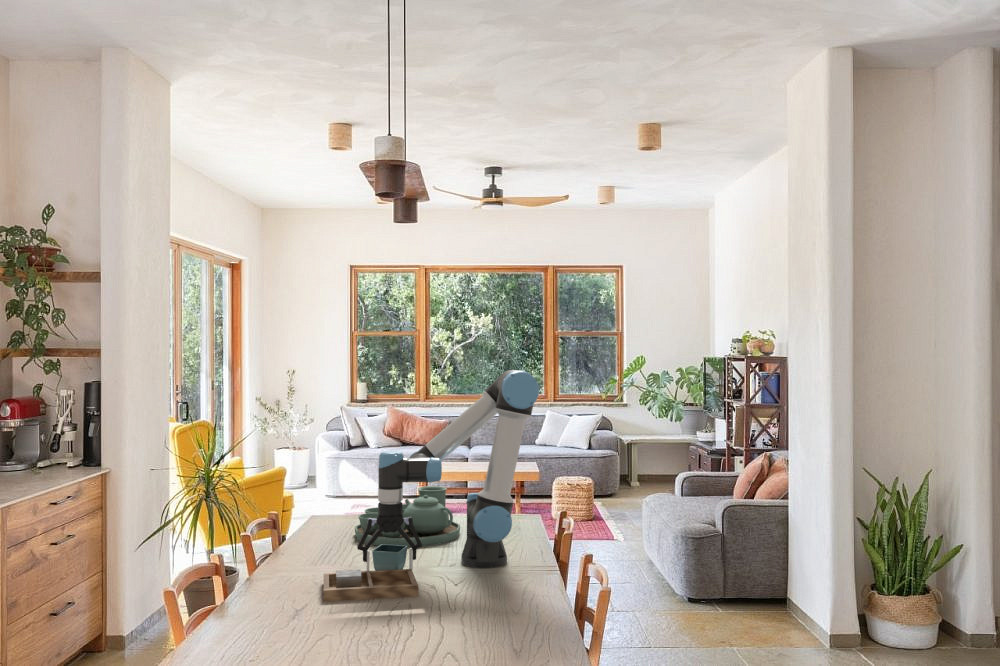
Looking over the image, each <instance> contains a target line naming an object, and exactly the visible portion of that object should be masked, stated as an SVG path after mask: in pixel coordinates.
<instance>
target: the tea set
mask: <svg viewBox="0 0 1000 666" xmlns="http://www.w3.org/2000/svg"><path fill="white" fill-rule="evenodd" d="M447 490H448V488H447V487H446V486H442V485H441V486H439V485H427V486H426V485H425V486H419V487H418V488H417V491H418V493H419V495H418V497H416V498H414V499H413V500H412V502H411V501H410V500H409V499H408V498H406V499H405V500H404V502H405V503H403V509H402V516H403V518H408V517H409V516H411V517H412V519H413V526H414V528H415V530H416V532H417V535H418V537H419V539H420V541H421V543H422V547H427V546H434V545H441V544H442V545H443V544H446V543H448V542H451V541H453V540H455V539H456V540H457V539H458V537H459V534H460V532H461V531H460V530H461V525H460V524H459V523H457V522H455V521H454V515H453V513H452V510H451V509H450V508H448V507H446V501H447V500H446V498H447V497H446V491H447ZM377 517H378V506H376V507H369V508H366V509H364V513H361V514H358V516H357V518H358V520H359V524H358V525H355V526H354V533H355V538H356V539H357V541H358V542H359V541H360V539H361V537H362V535H363V532H364V530H365V528H366V526H367V521H368V518H371V519H377ZM378 528H379V526H378V524H377V523H375V524H374V525H373V526H371V529H370V531H369V533H368V536H367V538H366V540H365V542H364V544H366V543H367V542H368V541H369V539H370V538H371V537H372V536H373V534H374V533H375V532H376V530H377V529H378ZM401 528H402V529H403V530H404V532H405V533H406V534H407V535H408V537H409V538H410V539H411V540H412V541H413V543H414V544H416V543H417V542H416V540H415V538H414V535H413V533H412V531H411V529H410V527H409V525H407V524H406V522H404V523H403V524H402V525H401ZM381 544H386V545H401V546H407V548H412V547H411V546H410V545H409V544H408V542H407V541H406V540H405V539H404V537H403V536H402V535H401V534H400V533H399V531H396V532H394V533H393V532H388V533H385V532H382V533H381V534H380V535H379V536H378V538H377V539H376V540H375V541H374V543H373V544H372V545H371V546H377V547H378V546H379V545H381Z"/></svg>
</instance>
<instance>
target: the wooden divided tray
mask: <svg viewBox="0 0 1000 666" xmlns="http://www.w3.org/2000/svg"><path fill="white" fill-rule="evenodd" d="M361 576H362V579H361V587H351V588H336V572H323V597H322V598H323V602H324V603H325V602H339V601H340V602H341V601H358V600H377V599H396V598H397V599H398V598H411V597H413V598H414V597H419V584H418V582H417V579H416V576H415V574H414V572H413V571H412V569H409V568H403V569H400V570H380V571H375V570H369V571H366V570H364V571H361Z"/></svg>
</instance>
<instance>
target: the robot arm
mask: <svg viewBox="0 0 1000 666" xmlns="http://www.w3.org/2000/svg"><path fill="white" fill-rule="evenodd" d="M539 394H540V386H539V384H538V381H537V379H536V378H535V377H534V376H533V375H532V374H531V373H529V372H528V371H525V370H523V369H522V370H519V369H510V370H509V369H508V370H506V371H504V372H503V373H501V374H500V375H499V376H498V377H497V378H496V379H495V380H494V381H493V382H492V383H491V384H490V385H489V386H488V387H486V388H485V389H484V390H483V391H482V396H481V397H480V398H479V399H478V400H476V401H475V402H474V403H472V405H470V406H469V407H468V408H467V409H466V410H464V411H463V412H462V413H461V414H460V415H459V416H457V417H456V418H455V419H454V420H453V421H451V423H449V424H448V425H447V426H446V427H445V428H443V429H442V430H441V431H440V432H439V433H437V434H436V435H435V436H434V437H433V438H432V439H431V440H429V441H428V442H427V443H426V444H425V445H424V446H422V447H421V448H420V449H419V450H417V451H415V452H413V453H412V454H411V455H410V456H409V457H405V456H404V453H403V451H398V450H396V451H395V450H387V451H382V452H380V454H379V456H378V471H377V472H378V477H377V478H378V491H377V492H378V493H377V494H378V495H377V496H378V497H377V498H378V499H377V501H378V504H377V507H378V517H377V519H371V518H368V521H367V526H366V528H365V530H364V532H363V535H362V537H361V539H360V541H359V540H358V542H357V543H358V544H357V546H356V548H357V550H358V551H362V561H363V563H366V566H365V567H366V570H365V571H370V559H371V558H370V557H371V556H370V548H371V546H373V545H372V544H373V543H374V541H375V540H376V539H377V538H378V536H379V535H380V534H381V533H382V532H385V533H388V532H393V533H394V532H396V531H399V533H400V534H401V535H402V536H403V537H404V539H405V540H406V541H407V542H408V544H409V545H410V546H411V547H409V552H408V553H409V555H408V556H409V562H408V564H409V565H408V567H409V568H408V569H412V571H413V569H414V567H413V566H414V564H413V562H414V561H416V560H417V549H420V548H422V547H423V546H422V543H421V541H420V539H419V537H418V535H417V532H416V530H415V528H414V526H413V519H412V517H411V516H409V517H408V518H403V516H402V509H403V504H404V503H403V502H402V501H403V500H404V499H403V497H404V496H403V495H404V491H403V490H404V486H403V484H404V483H436V482H438V483H439V482H440V481H441V480H442V476H443V475H442V470H443V467H442V464H443V463H442V461H444V460H445V459H446V458H447V457H448V456H449V455H450V454H451V453H453V452H454V451H455V450H456V449H457V448H458V447H460V446H462V444H463V443H464V442H466V441H467V440H468V439H469V438H471V437H472V436H473V435H474V434H475V433H476V432H477V431H478V430H480V429H481V428H482V427H483V426H484V425H485V424H486V423H488V422H489V421H490V420H492V418H494V417H495V416H496V415H497V414H498V416H497V417H498V418H497V423H496V426H495V432H494V437H493V443H492V447H491V452H490V457H489V461H488V465H487V472H486V477H485V481H484V485H483V489H482V490H481V491H479V492H470V493H468V494H467V498H466V503H465V504H466V541H465V544H464V547H463V549H462V553H461V559H460V560H461V561H460V563H461V564H462V565H464V566H465V567H466V566H467V567H470V568H477V569H478V568H479V569H481V568H482V569H489V568H491V569H492V568H498V567H502V566H504V565H507V563H508V555H507V551H506V549H505V546H504V542H503V540H504V539H505V538H507V537H508V536H509V534H510V532H511V530H512V527H513V518H512V512H513V506H514V503H515V502H514V499H513V497H512V496H511V492H512V488H513V487H512V486H513V482H514V477H515V472H516V467H517V463H518V457H519V453H520V448H521V443H522V438H523V434H524V433H523V432H524V428H525V423H526V420H527V419H529V418H531V417H532V412H533V409H534V408H533V407H534V405H535V404H536V402H537V400H538V398H539ZM404 522H406V524H407V525H409V527H410V529H411V531H412V533H413V535H414V538H415V540H416V542H417V543H416V544H414V543H413V541H412V540H411V539H410V538H409V537H408V535H407V534H406V533H405V532H404V530H403V529H402V528H401V525H402V524H403V523H404ZM375 523H377V524H378V526H379V528H378V529H377V530H376V532H375V533H374V534H373V536H372V537H371V538H370V539H369V541H368V542H367V543H365V540H366V538H367V536H368V533H369V531H370V529H371V526H373V525H374V524H375Z"/></svg>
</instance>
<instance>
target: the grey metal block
mask: <svg viewBox="0 0 1000 666" xmlns="http://www.w3.org/2000/svg"><path fill="white" fill-rule="evenodd" d="M335 573H336V588H351V587H361V579H362V576H361V569H343V570H336V571H335Z"/></svg>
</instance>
